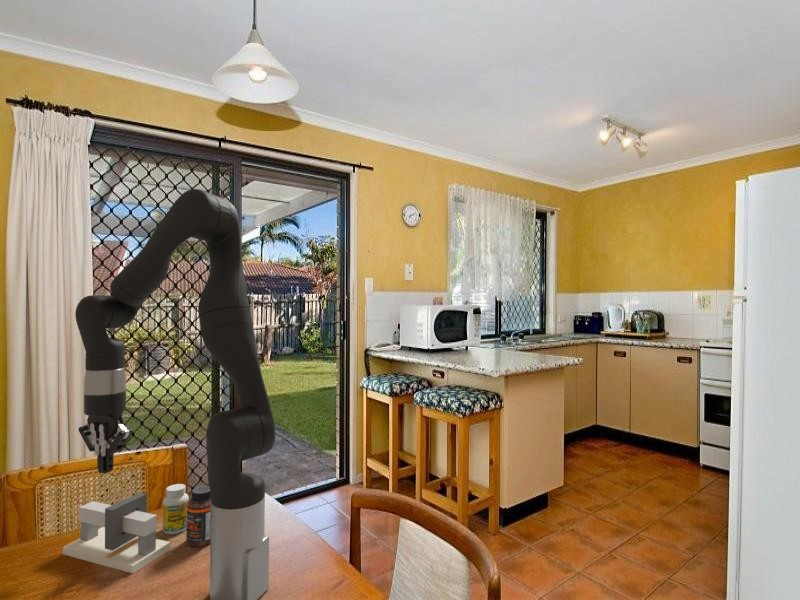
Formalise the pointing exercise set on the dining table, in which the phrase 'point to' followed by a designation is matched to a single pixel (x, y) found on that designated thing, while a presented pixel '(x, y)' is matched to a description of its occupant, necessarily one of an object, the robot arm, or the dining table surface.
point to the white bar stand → (127, 554)
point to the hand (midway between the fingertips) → (105, 472)
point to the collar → (114, 520)
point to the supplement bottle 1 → (175, 509)
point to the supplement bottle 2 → (199, 517)
